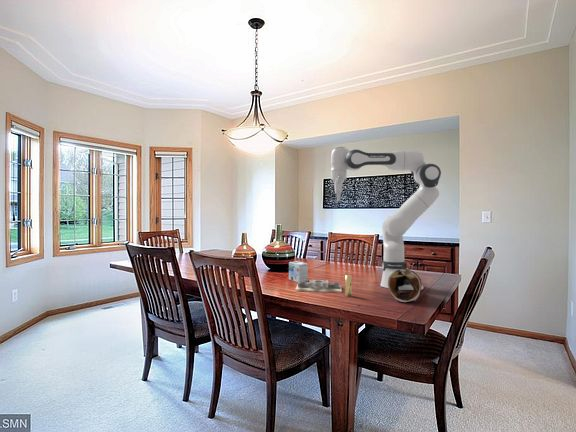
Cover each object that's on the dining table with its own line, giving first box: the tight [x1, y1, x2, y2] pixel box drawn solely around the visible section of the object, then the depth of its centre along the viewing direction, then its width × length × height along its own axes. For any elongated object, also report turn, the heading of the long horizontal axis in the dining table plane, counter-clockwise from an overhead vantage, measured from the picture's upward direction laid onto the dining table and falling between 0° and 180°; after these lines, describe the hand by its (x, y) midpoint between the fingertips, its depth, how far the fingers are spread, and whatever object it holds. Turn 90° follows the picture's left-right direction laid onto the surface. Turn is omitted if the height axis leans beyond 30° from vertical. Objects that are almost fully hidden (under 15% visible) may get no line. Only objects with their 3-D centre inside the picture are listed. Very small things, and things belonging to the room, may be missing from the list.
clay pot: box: [387, 268, 423, 303], centre depth 168 cm, size 15×15×25 cm
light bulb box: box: [288, 260, 309, 283], centre depth 204 cm, size 11×7×11 cm, turn 37°
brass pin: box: [344, 274, 353, 298], centre depth 168 cm, size 3×3×10 cm
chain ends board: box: [294, 279, 343, 294], centre depth 182 cm, size 24×12×4 cm, turn 83°
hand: (338, 201), depth 191 cm, fingers open, 8 cm apart
